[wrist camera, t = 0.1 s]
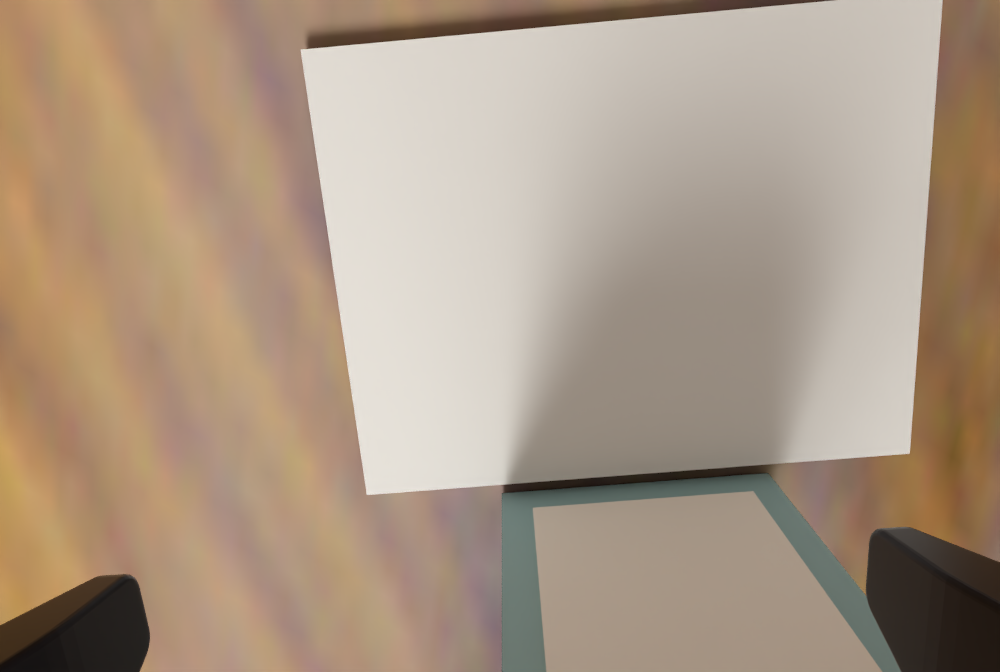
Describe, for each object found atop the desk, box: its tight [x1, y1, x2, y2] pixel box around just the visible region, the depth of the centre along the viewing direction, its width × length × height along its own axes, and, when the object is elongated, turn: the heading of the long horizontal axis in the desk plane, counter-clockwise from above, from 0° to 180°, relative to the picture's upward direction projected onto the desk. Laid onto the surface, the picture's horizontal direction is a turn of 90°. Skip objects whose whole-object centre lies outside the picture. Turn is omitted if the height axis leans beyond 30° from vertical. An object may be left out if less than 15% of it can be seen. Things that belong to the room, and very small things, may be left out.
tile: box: [502, 473, 901, 672], centre depth 19 cm, size 2×9×12 cm, turn 95°
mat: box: [301, 0, 943, 495], centre depth 22 cm, size 14×18×1 cm
